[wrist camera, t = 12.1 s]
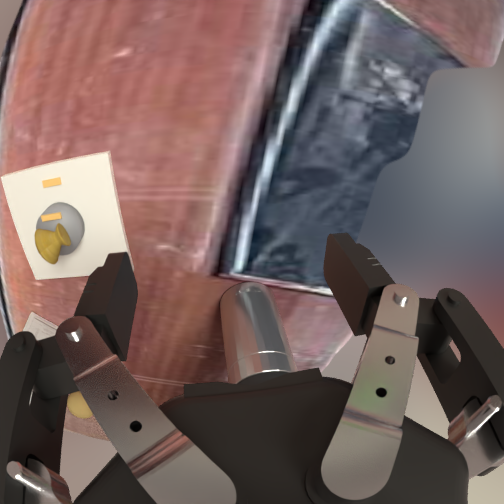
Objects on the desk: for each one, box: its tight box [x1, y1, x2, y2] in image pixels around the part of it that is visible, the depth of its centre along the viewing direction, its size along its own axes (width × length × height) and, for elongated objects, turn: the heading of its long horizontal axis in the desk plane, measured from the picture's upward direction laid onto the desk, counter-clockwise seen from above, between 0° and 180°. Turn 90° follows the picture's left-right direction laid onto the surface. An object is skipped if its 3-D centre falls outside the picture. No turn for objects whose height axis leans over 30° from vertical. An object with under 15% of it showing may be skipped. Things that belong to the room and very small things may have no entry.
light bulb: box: [67, 391, 93, 418], centre depth 54 cm, size 6×6×10 cm
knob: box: [35, 223, 71, 264], centre depth 33 cm, size 5×5×5 cm
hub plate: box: [1, 151, 134, 280], centre depth 37 cm, size 18×18×4 cm
